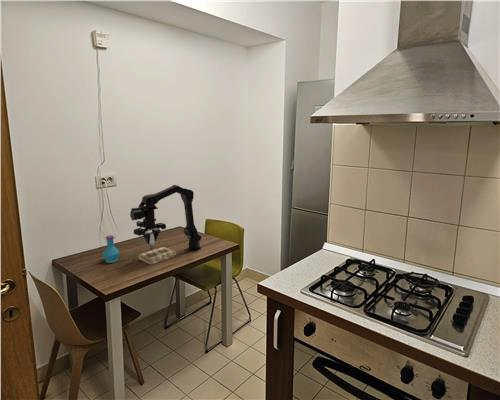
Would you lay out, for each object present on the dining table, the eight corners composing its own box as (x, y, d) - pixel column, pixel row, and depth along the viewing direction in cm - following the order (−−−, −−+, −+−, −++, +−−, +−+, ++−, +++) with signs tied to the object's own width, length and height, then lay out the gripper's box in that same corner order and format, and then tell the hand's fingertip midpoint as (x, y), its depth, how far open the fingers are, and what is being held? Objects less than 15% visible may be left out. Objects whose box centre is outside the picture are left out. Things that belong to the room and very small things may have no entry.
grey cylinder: (152, 246, 206) (151, 231, 204) (156, 247, 204) (155, 233, 202) (146, 247, 203) (145, 233, 201) (150, 249, 201) (149, 234, 199)
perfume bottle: (104, 264, 197) (101, 239, 194) (102, 259, 205) (100, 235, 202) (121, 261, 202) (119, 237, 198) (119, 256, 210) (117, 232, 206)
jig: (163, 251, 219) (163, 246, 218) (175, 255, 211) (175, 251, 210) (138, 259, 205) (138, 254, 204) (150, 264, 198) (150, 259, 197)
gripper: (154, 212, 212) (156, 236, 215) (127, 218, 198) (129, 244, 201) (166, 214, 205) (167, 240, 208) (138, 221, 191) (140, 248, 194)
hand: (151, 242), depth 203 cm, fingers closed on grey cylinder, 4 cm apart
